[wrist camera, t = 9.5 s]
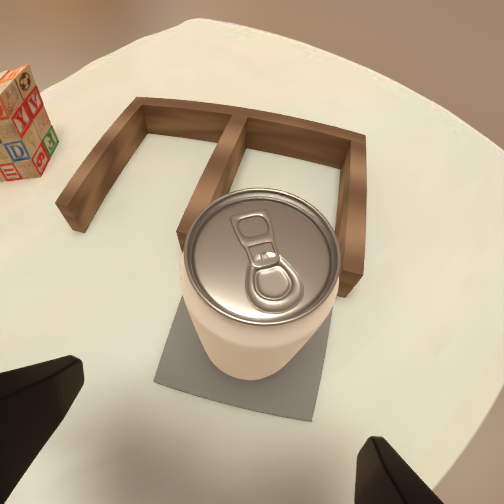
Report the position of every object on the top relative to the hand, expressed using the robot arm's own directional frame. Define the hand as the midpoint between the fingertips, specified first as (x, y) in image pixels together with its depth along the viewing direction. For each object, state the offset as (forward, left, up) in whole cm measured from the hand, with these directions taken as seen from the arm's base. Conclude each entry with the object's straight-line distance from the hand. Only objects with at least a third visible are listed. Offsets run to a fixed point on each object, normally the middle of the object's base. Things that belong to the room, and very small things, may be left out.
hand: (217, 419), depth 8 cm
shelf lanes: (+18, -7, -13) cm, 23 cm away
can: (+5, -4, -12) cm, 14 cm away
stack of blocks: (+36, +20, -13) cm, 43 cm away
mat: (+4, -4, -13) cm, 14 cm away
